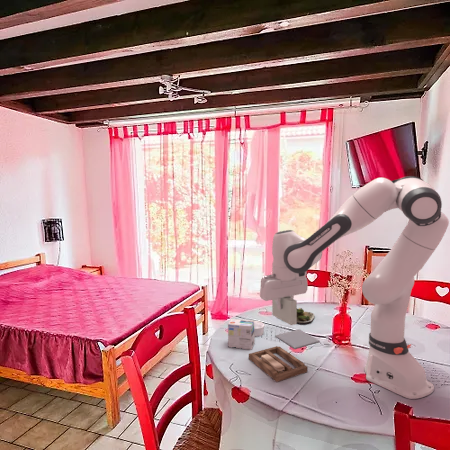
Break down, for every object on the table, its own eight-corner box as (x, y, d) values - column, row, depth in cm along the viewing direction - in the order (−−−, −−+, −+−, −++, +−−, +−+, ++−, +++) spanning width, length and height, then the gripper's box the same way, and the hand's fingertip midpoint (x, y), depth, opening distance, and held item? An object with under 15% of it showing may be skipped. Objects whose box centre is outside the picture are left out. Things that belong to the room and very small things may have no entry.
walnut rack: (307, 371, 126) (307, 365, 126) (276, 382, 119) (276, 375, 119) (277, 350, 143) (277, 344, 142) (248, 358, 136) (248, 352, 136)
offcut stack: (284, 375, 124) (284, 366, 124) (277, 377, 123) (277, 368, 123) (267, 361, 134) (267, 353, 134) (261, 363, 133) (261, 355, 132)
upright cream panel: (296, 324, 126) (296, 300, 125) (291, 325, 125) (291, 301, 124) (277, 313, 137) (277, 292, 136) (272, 314, 135) (272, 293, 134)
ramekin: (267, 331, 162) (267, 322, 162) (260, 338, 155) (260, 329, 154) (250, 328, 166) (250, 319, 166) (242, 335, 159) (242, 326, 158)
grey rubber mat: (319, 342, 150) (319, 340, 150) (294, 349, 144) (294, 347, 144) (299, 330, 162) (299, 329, 162) (275, 336, 156) (275, 335, 156)
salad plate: (287, 309, 193) (287, 301, 192) (318, 314, 184) (319, 306, 183) (274, 320, 176) (274, 312, 175) (308, 327, 167) (308, 318, 167)
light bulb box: (255, 343, 150) (254, 319, 149) (252, 350, 143) (251, 325, 142) (231, 340, 153) (231, 317, 151) (227, 347, 146) (227, 323, 145)
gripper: (265, 278, 121) (266, 315, 123) (310, 270, 130) (309, 305, 132) (256, 274, 127) (256, 310, 128) (299, 267, 136) (299, 301, 137)
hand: (284, 307), depth 130 cm, fingers closed on upright cream panel, 2 cm apart
